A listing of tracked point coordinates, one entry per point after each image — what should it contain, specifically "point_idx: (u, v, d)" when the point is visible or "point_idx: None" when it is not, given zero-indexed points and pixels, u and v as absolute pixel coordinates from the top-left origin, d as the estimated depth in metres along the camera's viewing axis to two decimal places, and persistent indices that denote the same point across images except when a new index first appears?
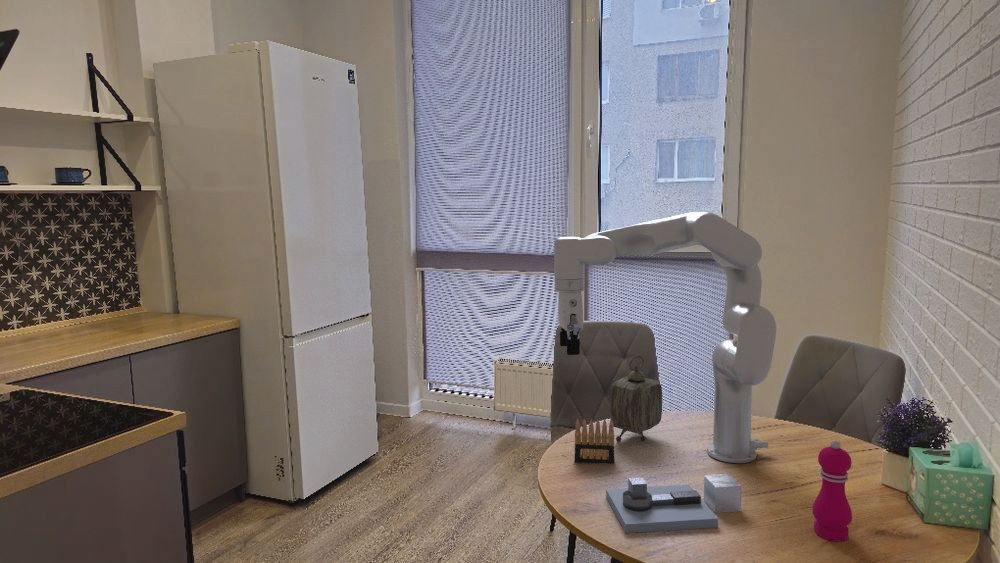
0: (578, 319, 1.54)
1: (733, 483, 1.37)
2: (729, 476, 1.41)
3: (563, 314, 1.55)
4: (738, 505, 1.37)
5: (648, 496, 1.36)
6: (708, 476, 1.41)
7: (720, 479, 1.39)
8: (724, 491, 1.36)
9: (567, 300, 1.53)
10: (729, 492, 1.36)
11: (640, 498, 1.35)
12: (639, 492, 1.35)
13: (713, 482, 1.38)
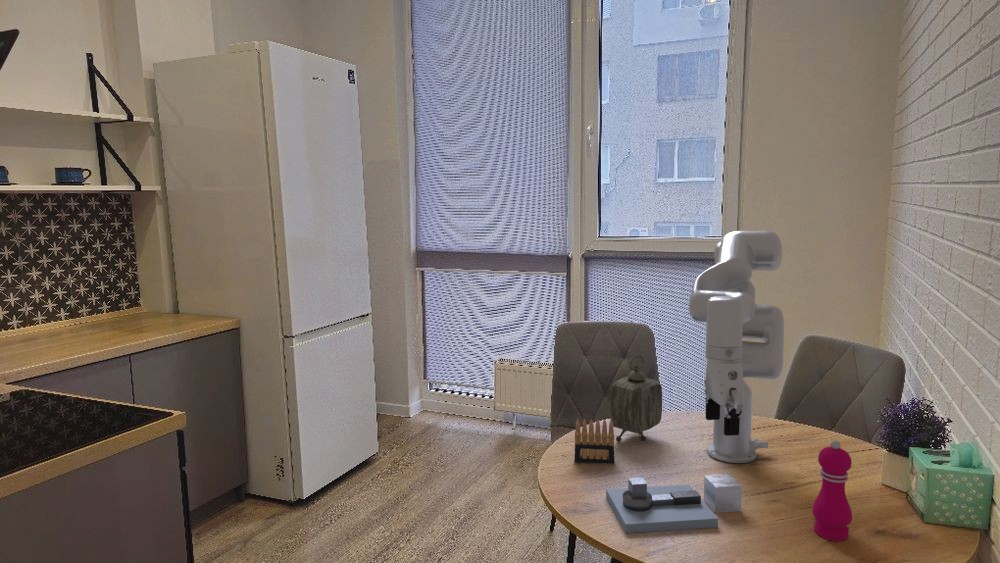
0: (738, 395, 1.31)
1: (733, 483, 1.37)
2: (729, 476, 1.41)
3: (720, 388, 1.32)
4: (738, 505, 1.37)
5: (648, 496, 1.36)
6: (708, 476, 1.41)
7: (720, 479, 1.39)
8: (724, 491, 1.36)
9: (726, 372, 1.31)
10: (729, 492, 1.36)
11: (640, 498, 1.35)
12: (639, 492, 1.35)
13: (713, 482, 1.38)
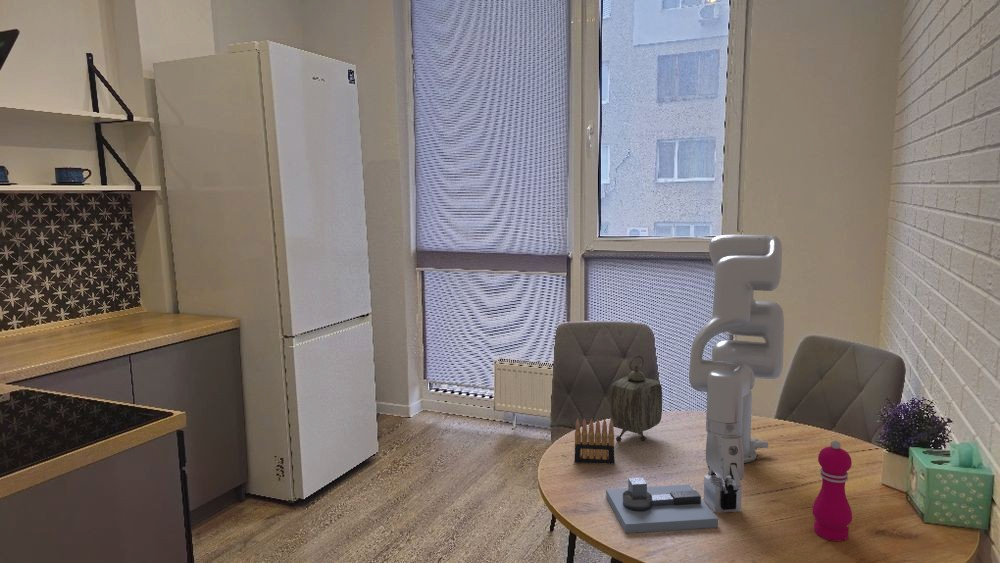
0: (739, 469, 1.33)
1: None
2: (729, 476, 1.41)
3: (720, 462, 1.34)
4: (738, 505, 1.37)
5: (648, 496, 1.36)
6: (708, 476, 1.41)
7: (720, 479, 1.39)
8: None
9: (726, 447, 1.33)
10: None
11: (640, 498, 1.35)
12: (639, 492, 1.35)
13: (713, 482, 1.38)
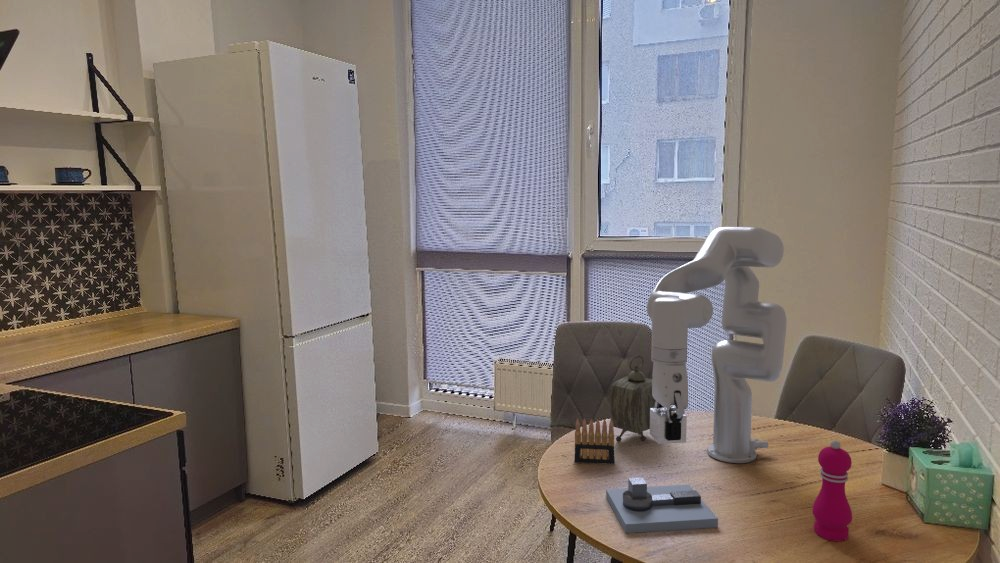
0: (683, 397, 1.29)
1: None
2: None
3: (664, 390, 1.30)
4: (683, 436, 1.33)
5: (648, 496, 1.36)
6: (654, 408, 1.37)
7: (665, 411, 1.35)
8: None
9: (670, 374, 1.29)
10: None
11: (640, 498, 1.35)
12: (639, 492, 1.35)
13: (658, 413, 1.34)
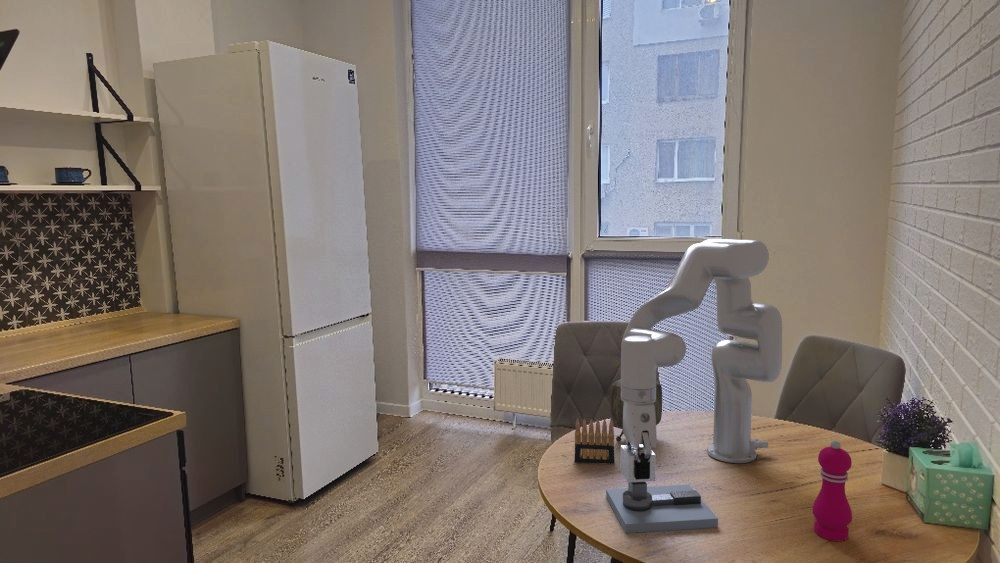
0: (651, 437, 1.30)
1: None
2: None
3: (633, 430, 1.31)
4: (652, 475, 1.33)
5: (648, 496, 1.36)
6: (624, 446, 1.37)
7: None
8: None
9: (638, 414, 1.29)
10: None
11: (640, 498, 1.35)
12: (639, 492, 1.35)
13: (627, 451, 1.34)
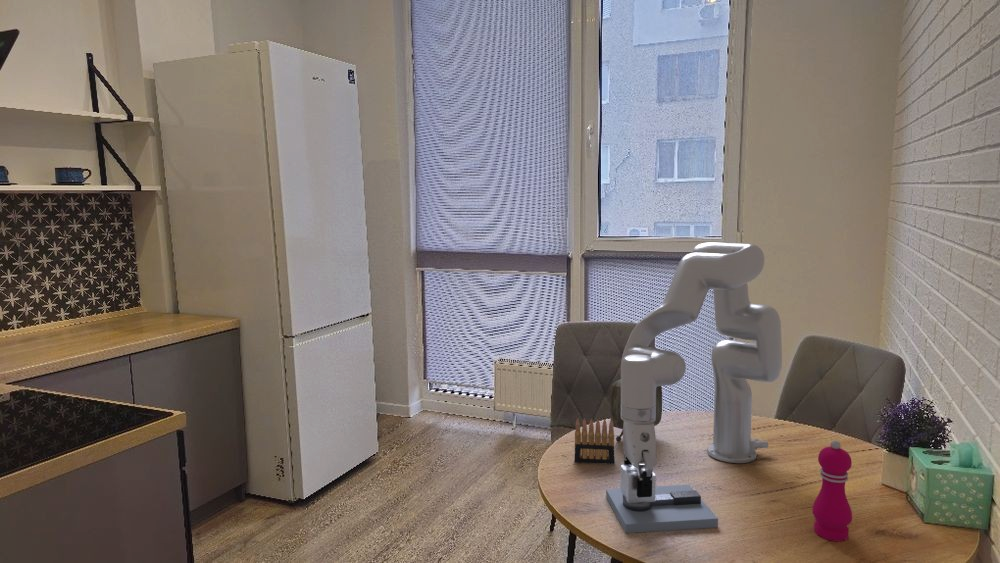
0: (651, 456, 1.30)
1: None
2: None
3: (633, 449, 1.31)
4: (652, 496, 1.34)
5: None
6: (624, 466, 1.38)
7: (635, 469, 1.36)
8: None
9: (638, 434, 1.30)
10: None
11: None
12: None
13: (628, 471, 1.35)
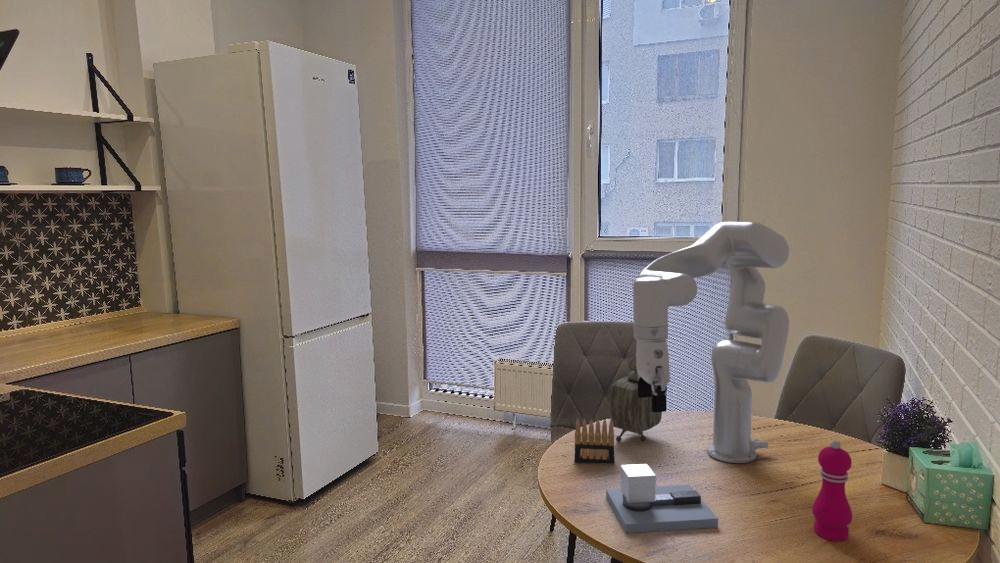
0: (664, 372, 1.35)
1: (647, 473, 1.34)
2: (646, 466, 1.38)
3: (647, 366, 1.36)
4: (652, 496, 1.34)
5: None
6: (624, 466, 1.38)
7: (635, 469, 1.36)
8: (638, 481, 1.33)
9: (652, 351, 1.35)
10: (643, 482, 1.33)
11: None
12: None
13: (628, 471, 1.35)
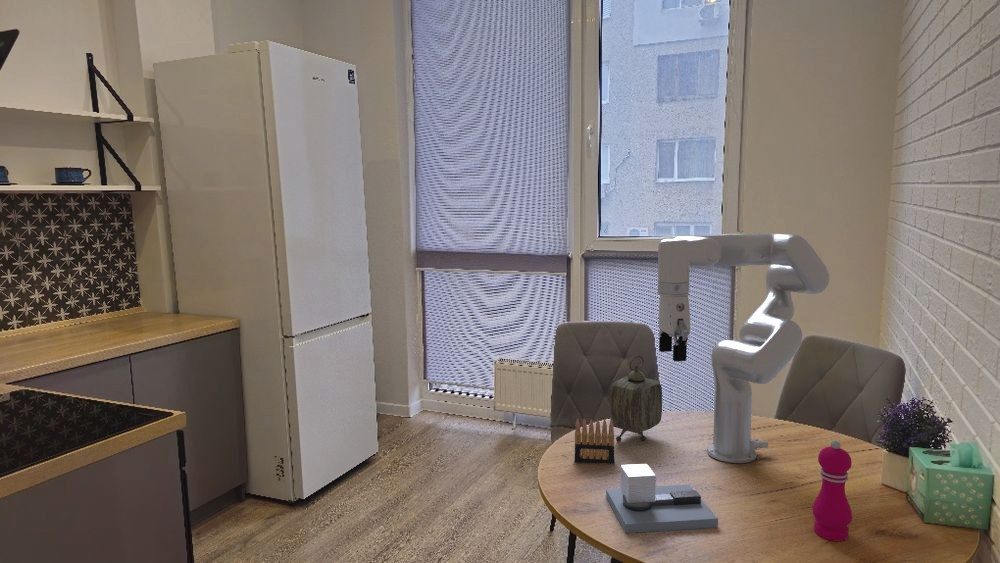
0: (685, 324, 1.48)
1: (647, 473, 1.34)
2: (646, 466, 1.38)
3: (669, 319, 1.49)
4: (652, 496, 1.34)
5: None
6: (624, 466, 1.38)
7: (635, 469, 1.36)
8: (638, 481, 1.33)
9: (674, 304, 1.48)
10: (643, 482, 1.33)
11: None
12: None
13: (628, 471, 1.35)
